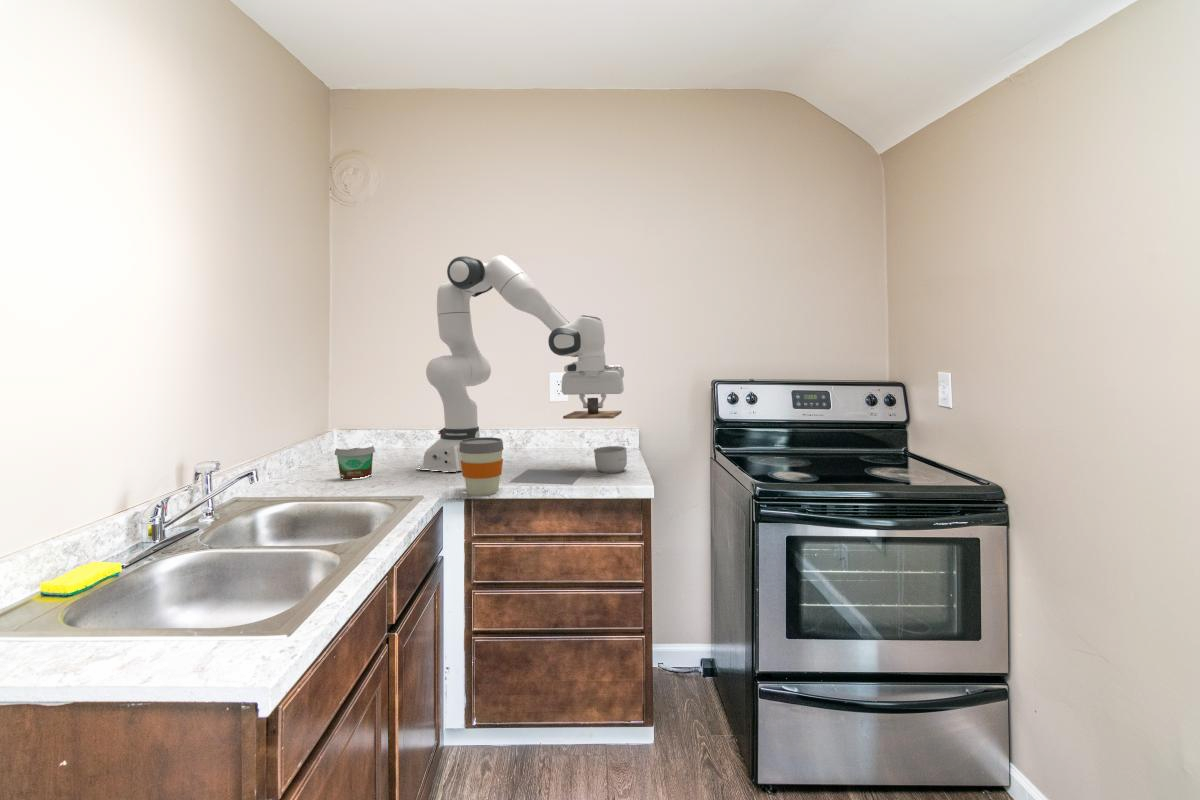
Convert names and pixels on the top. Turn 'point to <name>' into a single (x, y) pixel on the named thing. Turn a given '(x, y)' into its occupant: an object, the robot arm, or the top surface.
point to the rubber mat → (548, 476)
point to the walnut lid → (592, 412)
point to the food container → (355, 462)
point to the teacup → (611, 459)
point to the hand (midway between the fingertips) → (593, 408)
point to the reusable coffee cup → (481, 464)
